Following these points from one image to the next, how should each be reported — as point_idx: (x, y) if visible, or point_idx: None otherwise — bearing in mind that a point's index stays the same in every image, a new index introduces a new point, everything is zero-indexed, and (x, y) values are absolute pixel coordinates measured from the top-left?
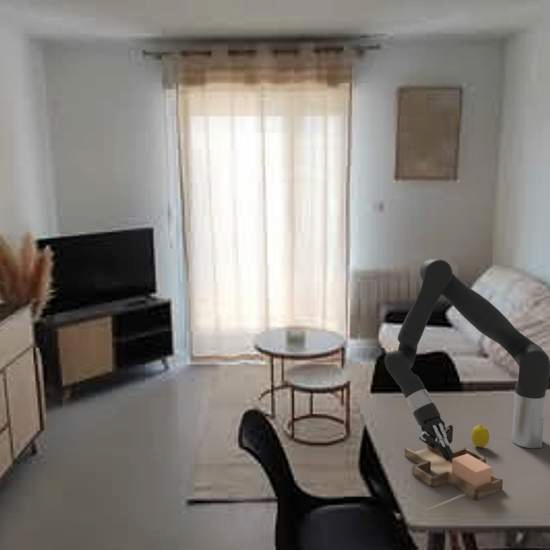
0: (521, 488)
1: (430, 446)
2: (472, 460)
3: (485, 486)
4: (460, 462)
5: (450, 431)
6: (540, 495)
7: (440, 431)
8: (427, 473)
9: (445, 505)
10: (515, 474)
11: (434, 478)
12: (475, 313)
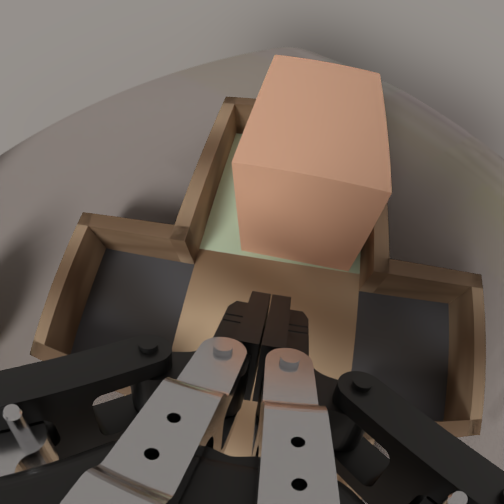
0: (177, 106)
1: (376, 458)
2: (295, 109)
3: None
4: (381, 139)
5: (39, 385)
6: (182, 76)
7: (187, 482)
8: (474, 328)
9: (474, 200)
10: (98, 152)
11: (473, 273)
12: None
